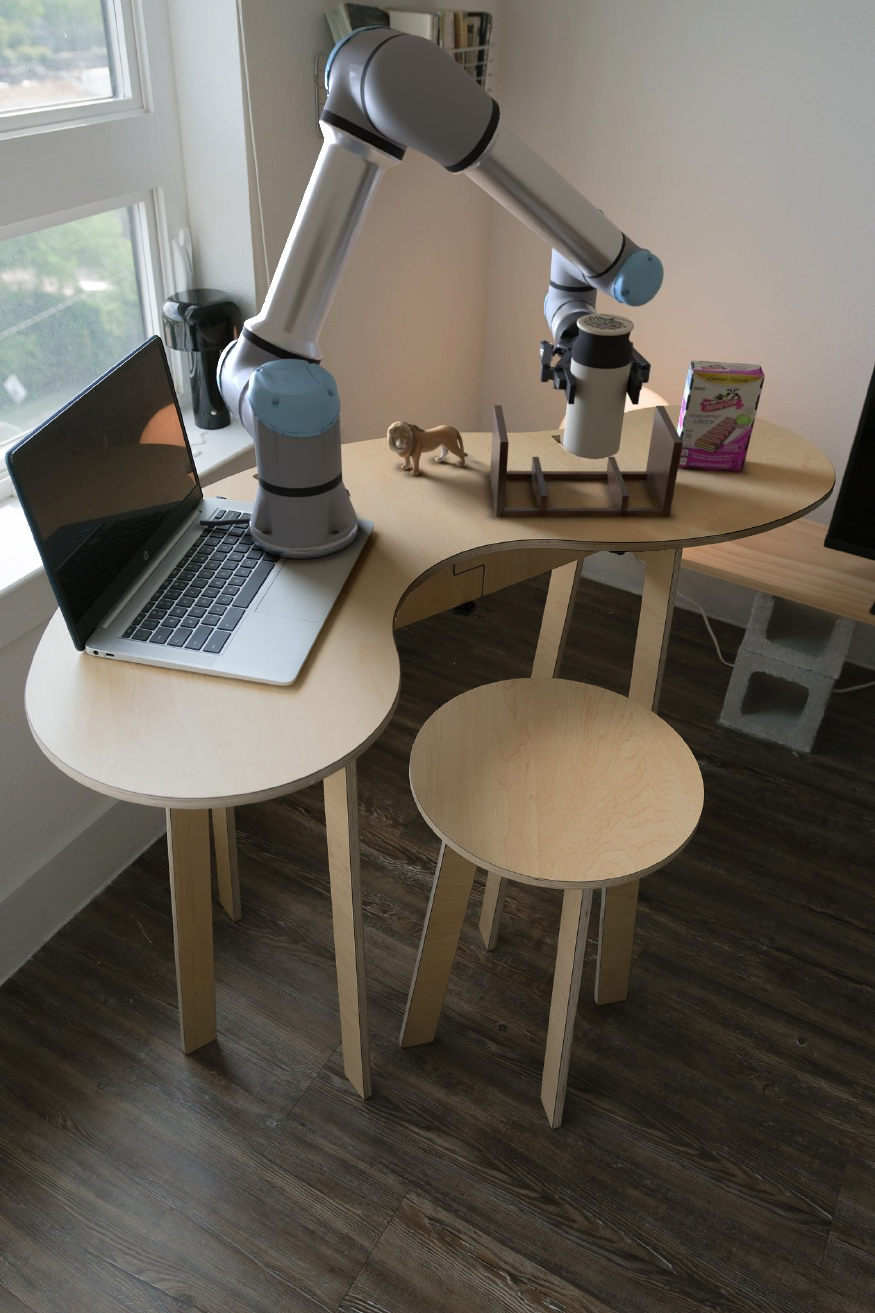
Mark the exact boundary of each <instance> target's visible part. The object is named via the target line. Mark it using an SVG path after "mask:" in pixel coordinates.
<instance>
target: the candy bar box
mask: <svg viewBox="0 0 875 1313" xmlns="http://www.w3.org/2000/svg"><path fill="white" fill-rule="evenodd" d="M765 377H766V375H765V373H764V370H763V368H762V365H761V364H754V363H737V362H724V361H723V362H722V361H709V360H689V363H688V369H687V375H686V380H685V385H684V391H683V396H682V401H681V407H680V412H679V417H678V419H679V420H678V422H677V428H676V431H677V433H678V435H679V437H680V439H681V440H682V442H683V443H682V449H681V454H680V460H679V466H678V468H682V469H683V468H685V469H699V470H700V469H701V470H715V471H730V472H743V471H744V467H745V463H746V460H747V458H746V457H747V455H748V450H749V446H750V442H751V437H752V434H753V429H754V426H755V425H754V424H755V421H756V416H757V412H758V409H759V408H758V407H759V403H760V399H761V394H762V391H763V388H764V382H765Z"/></svg>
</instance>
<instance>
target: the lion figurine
mask: <svg viewBox="0 0 875 1313" xmlns="http://www.w3.org/2000/svg"><path fill="white" fill-rule="evenodd" d="M386 440H387V445H388V448H389V451H391V452H393V453H396V454H397V455H398V456H399V457H400V458H403V461H404V463H403V464H402V465H401V466H400V468H401V469H402V470H408V469H409V468H410V465H411V464H412V470H410V475H411V476H418V475H419V473H420V460H421V456H422V454H423V453H424V454H425V453H426V454H427V453H431V452H433V451H436V450H437V449H439V447H440V449H441V454H440V455H439V456H436V457H435V459H434V460H435V462H437V463H441V462H443V461H444V460H445V458H446V457H447V456H448V455H449V453H450V454H453V455H454V456H456V457H457V458H459V461H457V462H456V466H457V467H459V468H460V467H461V468H463V467H464V466H465V465H466V458H467V457H468V456H469V454H468V453H467V452H465V447H464V442H463V438H462V435H461V433H460V432H459V430H458V429H457V428H455V427H454V426H451V425H446V424H442V425H439V426H436V427H433V428H429V429H422V428H420V427H419V426H418V425H417V424H412V423H408V422H407V421H401V420H399V421H395V422H392V423H391V424H390V426H389V427H388V429H387V433H386ZM411 460H412V463H411Z"/></svg>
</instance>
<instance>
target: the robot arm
mask: <svg viewBox="0 0 875 1313" xmlns="http://www.w3.org/2000/svg"><path fill="white" fill-rule="evenodd" d="M324 72H325V73H324V84H325V85H324V86H325V91H326V95H327V98H326V101H325V104H324V107H323V109H322V112H321V115H320V118H319V120H318V123H319V124H320V125H319V126H320V128H321V131H322V134H323V137H324V142H323V145H322V148H321V150H320V153H319V155H318V158H317V160H316V164H315V167H314V170H313V171H312V174H311V177H310V181H309V182H308V184H307V188H306V190H305V192H304V196H303V198H302V202H301V203H300V207H299V209H298V212H297V215H296V218H295V220H294V223H293V226H292V228H291V231H290V233H289V236H288V238H287V242H286V244H285V247H284V249H283V252H282V254H281V257H280V260H279V263H278V266H277V268H276V271H275V274H274V276H273V279H272V282H271V284H270V287H269V290H268V293H267V295H266V298H265V302H264V304H263V306H262V309H261V312H260V313H259V314H258V315H257V316H254V317H252V318H249V319H247V320H245V322H244V324H243V327H242V330H241V332H240V335H239V338H237V339H235V340H233V341H231V342H230V343H229V344H228V345H227V346H226V347H225V349H224V350H223V352H222V353H221V356H220V357H219V360H218V364H217V368H216V382H217V387H218V390H219V392H220V395H221V398H222V401H223V402H224V403H225V405H226V408H227V409H228V410H229V412H230V413H231V414H232V415H233V416H234V417H235V418H236V419H237V420H238V421H239V423H240V424H241V426H242V427H243V429H245V431H246V432H247V434H248V435H249V436H250V437H251V439H252V441H253V444H254V452H255V461H256V471H257V481H258V488H257V491H256V494H255V499H254V503H253V507H252V511H251V515H250V517H243V518H231V519H230V518H229V519H218V520H217V519H216V520H213V519H212V520H208V519H200V520H199V525H200V526H203V527H204V526H205V527H222V526H223V527H225V526H233V525H248V524H249V530H250V537H251V540H252V542H253V543H254V544H255V546H256V547H258V548H259V549H260V550H262V551H263V552H265V553H268V554H271V555H274V556H277V557H281V558H287V559H313V558H319V557H320V558H321V557H324V556H327V555H331V554H334V553H336V552H339V551H341V550H343V549H344V548H346V547H347V546H349V545H350V544H351V543H352V542H353V541H354V540H355V539H356V537H357V535H358V517H357V514H356V510H355V508H354V505H353V504H352V501H351V500H352V499H351V498H352V496H351V494H350V492H349V489H348V488H346V486H345V483H344V481H343V480H344V479H343V461H342V460H343V459H342V437H341V436H342V435H341V434H342V433H341V400H340V398H341V397H340V394H339V390H338V389H339V388H338V383H337V381H336V379H335V377H334V376H333V375H332V373H331V372H330V371H329V370H328V369H326V368H325V367H323V366H322V365H320V364H321V362H322V359H323V352H322V349H321V347H320V345H319V337H320V334H321V332H322V329H323V327H324V325H325V322H326V320H327V318H328V315H329V313H330V310H331V308H332V305H333V302H334V300H335V297H336V295H337V293H338V290H339V287H340V285H341V283H342V281H343V278H344V275H345V272H346V271H347V270H346V269H347V267H348V265H349V263H350V260H351V257H352V255H353V252H354V249H355V247H356V245H357V243H358V240H359V237H360V235H361V233H362V230H363V227H364V225H365V223H366V220H367V217H368V215H369V212H370V210H371V207H372V205H373V203H374V200H375V197H376V195H377V192H378V191H379V188H380V185H381V183H382V179H383V178H384V176H385V172H386V171H387V170H388V169H391V168H394V167H396V166H399V165H401V163H402V161H403V159H404V156H405V154H406V152H407V149H408V148H411V149H412V150H415V151H417V152H419V153H421V154H422V155H424V156H427V157H428V158H429V159H431V160H433V161H435V162H436V163H437V164H439V165H440V166H442V167H443V168H444V169H445V170H446V171H448V172H449V173H450V174H452V175H460V174H464V175H465V176H466V177H468V178H469V179H470V180H471V181H472V182H474V183H475V185H477V186H478V187H480V188H481V189H482V190H483V191H485V192H486V193H487V194H488V195H489V196H490V197H492V198H493V199H494V200H495V201H497V202H498V203H499V205H501V206H502V207H504V208H505V209H506V210H507V211H508V212H509V213H510V214H512V215H513V216H514V217H515V218H517V219H518V220H519V221H520V222H521V223H522V224H524V225H525V226H526V227H527V228H528V229H530V231H532V232H533V233H534V234H536V235H537V236H538V237H539V238H540V239H541V240H543V241H544V242H545V243H546V244H548V245H549V246H550V247H551V264H550V278H549V285H548V292H547V294H546V295H545V296H546V297H545V298H544V302H543V305H544V306H543V307H544V308H543V309H544V310H543V314H544V318H545V321H546V323H547V325H548V327H549V330H550V332H551V336H552V337H553V340H554V342H555V343H550V342H549V340H541V341H539V352H538V353H539V356H538V359H539V360H540V376H539V382H541V383H549V381H552V389H554V390H560V391H563V392H564V396H565V398H566V402H567V401H568V404H574V401H575V391H576V383H575V381H574V378H573V375H572V373H571V360H572V350H573V344H574V342H575V340H576V339H577V337H578V336H579V327H578V325H577V321H578V319H579V318H581V317H583V316H586V315H590V314H599V313H598V312H597V310H596V305H597V304H596V303H597V297H598V296H597V294H598V291H599V292H602V293H604V294H605V295H607V296H609V297H611V298H612V299H614V300H616V302H617V303H619V304H625V305H627V306H628V307H629V306H630V307H635V308H637V307H642V306H645V305H647V304H648V303H650V302H651V301H652V300H653V299H654V298H655V297H656V296H657V295H658V292H659V291H660V289H661V287H662V285H663V282H664V275H665V273H664V270H665V269H664V266H663V262H662V261H661V259H660V258H659V257H658V256H657V255H656V254H654V253H652V252H651V251H650V250H649V249H647V248H644V247H640V246H639V245H637V244H636V243H635V242H634V241H633V240H632V239H631V238H630V237H629V236H628V235H627V234H625V233H624V232H623V231H622V230H620V229H619V227H618V226H617V225H616V224H614V223H613V221H611V220H610V219H609V218H608V216H606V215H605V212H604V211H603V210H602V209H600V208H597V206H596V205H594V204H593V203H592V202H591V201H590V200H589V198H587V197H586V196H585V195H584V194H582V193H581V191H579V190H578V188H576V187H575V186H574V185H573V183H570V182H569V181H568V180H567V179H566V178H565V177H564V175H562V174H561V173H560V172H559V171H558V170H557V169H556V168H555V167H554V166H552V164H550V163H549V162H548V161H547V160H546V159H545V158H544V157H543V156H542V155H541V154H540V153H539V152H538V151H537V150H536V149H535V148H534V147H532V146H531V145H530V144H529V143H528V142H527V141H526V140H525V139H523V137H522V136H521V135H519V134H518V133H517V132H516V131H515V130H514V129H513V128H512V126H509V125H508V124H507V122H505V121H504V120H503V117H502V116H503V112H502V107H501V105H500V104H499V102H497V101H496V100H495V99H494V98H493V97H492V96H491V95H490V94H489V93H488V92H487V91H486V90H485V89H484V88H483V87H482V85H480V84H479V83H478V82H477V81H476V80H475V78H473V77H472V76H471V74H469V73H468V72H467V70H466V69H464V68H463V66H461V65H460V63H459V62H458V61H457V60H455V59H454V58H453V57H452V55H450V54H449V53H448V52H447V51H446V50H445V49H443V48H442V47H441V46H440V45H438V44H437V43H435V42H434V41H433V40H431V39H428V38H425V37H423V36H420V35H416V34H411V33H408V32H404V31H402V30H399V29H395V28H392V27H390V26H385V25H371V26H362V27H359V28H356V29H354V30H352V31H350V32H348V33H346V34H345V35H344V36H343V37H342V38H341V39H340V40H339V41H338V42H337V43H336V44H335V46H334V47H333V49H332V51H331V53H330V54H329V56H328V59H327V63H326V67H325V71H324ZM630 343H631V345H632V348H633V351H632V359H631V366H630V373H629V381H628V388H627V395H628V398H629V400H630V402H631V404H632V405H635V406H636V405H639V402H640V395H641V391H642V389H643V384H648V383H649V381H650V375H651V368H652V364H651V362H649V361H648V360H647V358H645V357H644V356H643V355H642V354H641V353H640V352H639V351H638V350H637V349H636V348H635V347H634V342H633V341H630ZM555 356H557V357H558V358H560V359H558V361H557V362H556V363H555V365H554V366H551V365H552V361H553V359H554V357H555Z"/></svg>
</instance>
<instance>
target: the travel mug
mask: <svg viewBox="0 0 875 1313" xmlns="http://www.w3.org/2000/svg"><path fill="white" fill-rule="evenodd" d="M577 325H578V327H579V336H578V337H577V339H576V340H575V342H574V344H573V350H572V360H571V373H572V375H573V378H574V381H575V383H576V391H575V401H574V404H568V401H567V400H566V411H565V421H564V430H563V431H564V432H563V440H562V443H563V444H562V447H563V448H564V450H566V451H567V452H568V453H570V454H572V455H573V456H576V457H578V458H581V459H582V458H583V459H588V460H602V459H606V458H608V457H613V456H615V455H616V454H618V453H619V451H620V446H621V439H622V431H623V424H624V417H625V409H626V402H627V395H628V394H627V388H628V381H629V373H630V366H631V359H632V351H633V348H632V345H631V343H630V342H631V340H630V337H631V333H632V331H633V330H634V328H635V324H634V322H633V321H632V320H630V319H629V318H627V317H624V316H621V315H618V314H611V313H598V314H590V315H586V316H583V317H581V318H579V319H578V321H577Z"/></svg>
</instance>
